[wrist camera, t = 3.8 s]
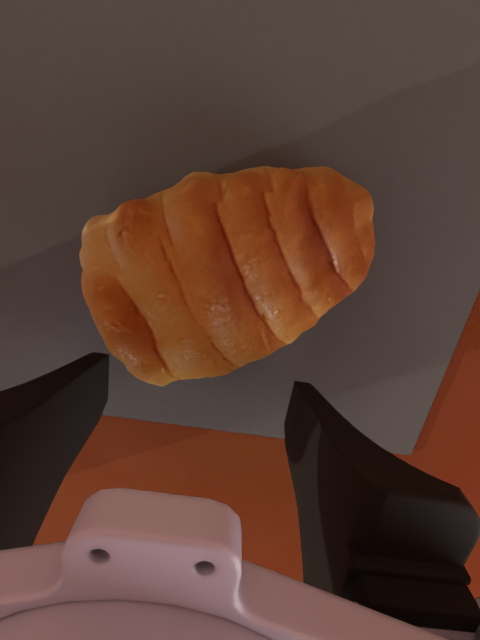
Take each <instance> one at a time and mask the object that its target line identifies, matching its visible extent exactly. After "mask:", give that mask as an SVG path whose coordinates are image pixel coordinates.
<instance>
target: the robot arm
mask: <svg viewBox="0 0 480 640" xmlns="http://www.w3.org/2000/svg"><path fill="white" fill-rule="evenodd" d="M109 356H110V354H104V353H97V352H92V353H90V354H87V355H85V356H83V357H81V358H79V359H77V360H75V361H73V362H71V363H69V364H66V365H64V366H62V367H60V368H58V369H56V370H54V371H52V372H49V373H47V374H45V375H42V376H40V377H38V378H35V379H33V380H31V381H28V382H26V383H23V384H20V385H17V386H15V387H12V388H8V389H5V390H2V391H0V640H480V596H479V597H477V598H476V599H474V597H473V596H472V594H471V592H470V590H469V588H468V586H467V585H469V584H470V582H471V578H470V576H469V574H468V572H467V571H466V569H465V567H464V564H465V562H466V560H467V558H468V557H469V555H470V553H471V551H472V550H473V548H474V546H475V544H476V542H477V540H478V537H479V535H480V519H479V516H478V514H477V512H476V511H475V510H474V508H473V507H472V505H471V504H470V502H469V501H468V500H467V498H466V497H465V495H464V494H463V492H462V491H461V490H460V488H458V487H456V486H454V485H451V484H449V483H447V482H445V481H442V480H440V479H438V478H436V477H433V476H431V475H429V474H427V473H425V472H423V471H421V470H419V469H417V468H415V467H413V466H411V465H410V464H408V463H406V462H404V461H403V460H401V459H399V458H397V457H396V456H394V455H393V454H391V453H389V452H388V451H386V450H385V449H383V448H382V447H380V446H379V445H377V444H376V443H375V442H373V441H372V440H371V439H369V438H368V437H367V436H365V435H364V434H363V433H361V432H360V431H359V430H358V429H357V428H355V427H354V426H353V425H352V424H351V423H350V422H349V421H347V420H346V419H345V418H344V417H343V416H342V415H341V414H340V413H339V412H338V411H337V410H336V409H335V408H334V407H333V406H332V405H331V404H330V403H329V402H328V401H327V400H326V399H325V398H324V397H323V396H322V395H321V394H320V392H319V391H318V390H317V389H316V388H315V387H314V386H313V385H312V384H311V383H307V382H300V381H294V385H293V389H292V394H291V398H290V402H289V406H288V410H287V414H286V418H285V422H284V433H285V446H286V452H287V457H288V462H289V467H290V471H291V476H292V481H293V486H294V491H295V495H296V501H297V507H298V516H299V527H300V537H301V550H302V563H303V579H304V583H303V582H301V581H298V580H295V579H293V578H290V577H288V576H285V575H283V574H280V573H277V572H275V571H272V570H270V569H267V568H265V567H262V566H259V565H257V564H254V563H252V562H249V561H247V560H244V559H242V531H241V524H240V517H239V516H238V515H237V514H236V513H235V512H234V511H233V510H232V509H231V508H230V507H229V506H228V505H226V504H223V503H220V502H218V501H215V500H212V499H208V498H200V497H192V496H184V495H176V494H168V493H160V492H152V491H144V490H135V489H127V488H115V489H103V490H100V491H98V492H97V493H95V494H93V495H92V496H90V497H88V498H87V499H86V501H85V503H84V505H83V507H82V509H81V511H80V513H79V515H78V517H77V519H76V521H75V523H74V526H73V528H72V530H71V532H70V534H69V536H68V538H67V540H66V541H64V542H56V543H49V544H42V545H34V546H32V545H33V543H34V541H35V538H36V536H37V534H38V531H39V529H40V527H41V525H42V523H43V521H44V518H45V516H46V514H47V512H48V510H49V507H50V505H51V503H52V501H53V499H54V497H55V495H56V493H57V491H58V489H59V487H60V485H61V483H62V481H63V479H64V477H65V475H66V473H67V472H68V470H69V468H70V467H71V465H72V463H73V462H74V460H75V459H76V457H77V455H78V454H79V452H80V451H81V449H82V447H83V446H84V444H85V443H86V441H87V439H88V438H89V436H90V435H91V433H92V431H93V430H94V428H95V426H96V425H97V423H98V421H99V419H100V417H101V415H102V413H103V410H104V408H105V406H106V403H107V401H108V387H109Z"/></svg>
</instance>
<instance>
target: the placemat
mask: <svg viewBox="0 0 480 640" xmlns="http://www.w3.org/2000/svg"><path fill="white" fill-rule="evenodd" d="M261 166H270V167H275V168H280V167H283V168H288V169H300V168H304V167H320V166H325V167H330V168H332V169H334V170H336V171H337V172H339V173H340V174H342V175H343V176H345V177H347V178H349V179H351V180H352V181H353V182H355V183H357V184H359V185H361V186H362V187H364V188H365V189H366V190H368V191H369V193H370V194H371V197H372V200H373V204H374V212H373V224H374V235H375V247H374V257H373V259H372V262H371V264H370V267H369V270H368V273H367V276H366V278H365V280H364V281H363V282H362V283H361V284H360V285H359V286H358V288H357V289H356V290H355V291H354V292H353V293H352V294H350V295H348V296H347V297H345V298H344V299H343V300H342V301H340V302H339V303H338V304H336V305H335V306H333V307H332V308H330V309H329V310H328V311H327V312H326V313H325V314H324V315H322V316H321V317H320V318H319V320H318V322H317V323H316V325H314V326H313V327H311V328H310V329H308V330H306V331H304V332H302V333H301V334H300V335H299V336H298V337H297V339H296V340H295V341H293V342H292V343H291V344H288V345H285V346H283V347H281V348H279V349H278V350H276V351H274V352H273V353H272V354H271V355H269V356H266V357H264V358H262V359H260V360H257V361H253V362H250V363H247V364H246V365H244V366H242V367H240V368H238V369H236V370H234V371H233V372H231V373H229V374H227V375H223V376H216V377H205V378H200V379H185V380H177V381H173V382H171V383H169V384H167V385H165V386H163V387H162V386H158V385H154V384H150V383H146V382H144V381H142V380H140V379H138V378H136V377H135V376H134V375H133V374H131V373H130V372H129V371H128V370H127V369H126V366H125V364H124V363H122V362H121V361H120V360H119V359H117V358H116V357H114V356H113V355H112V354H111V353H110V352H109V350H108V348H107V347H106V345H105V343H104V340H103V338H102V336H101V335H100V333H99V331H98V329H97V327H96V325H95V322H94V320H93V318H92V316H91V313H90V310H89V307H88V305H87V304H86V301H85V299H84V297H83V292H82V286H81V275H82V271H83V269H82V266H81V264H80V257H79V252H80V249H81V247H82V240H81V236H82V231H83V229H84V226H85V225H86V223H87V222H88V220H90V219H91V218H92V217H94V216H97V215H107V214H110V213H112V212H114V211H115V210H116V209H117V208H118V207H119V206H120V205H122V204H123V203H125V202H127V201H130V200H133V199H145V198H147V197H149V196H151V195H153V194H155V193H157V192H160V191H163V190H165V189H168V188H171V187H173V186H175V185H176V184H177V183H179V182H180V181H181V180H182V179H183V178H184V177H185V176H187V175H189V174H190V173H193V172H209V173H212V174H227V173H234V172H237V171H240V170H244V169H249V168H255V167H261ZM479 290H480V0H0V391H2V390H5V389H8V388H12V387H15V386H17V385H20V384H23V383H26V382H28V381H31V380H33V379H35V378H38V377H40V376H42V375H45V374H47V373H49V372H52V371H54V370H56V369H58V368H60V367H62V366H64V365H66V364H69V363H71V362H73V361H75V360H77V359H79V358H81V357H83V356H85V355H87V354H90V353H92V352H97V353H104V354H110V356H109V387H108V401H107V403H106V406H105V408H104V410H103V413H102V415H107V416H115V417H122V418H130V419H138V420H145V421H153V422H161V423H168V424H176V425H183V426H191V427H199V428H206V429H214V430H222V431H229V432H237V433H244V434H252V435H260V436H267V437H275V438H283V439H285V433H284V422H285V418H286V414H287V410H288V406H289V402H290V398H291V394H292V389H293V385H294V381H300V382H307V383H311V384H312V385H313V386H314V387H315V388H316V389H317V390H318V391H319V392H320V394H321V395H322V396H323V397H324V398H325V399H326V400H327V401H328V402H329V403H330V404H331V405H332V406H333V407H334V408H335V409H336V410H337V411H338V412H339V413H340V414H341V415H342V416H343V417H344V418H345V419H346V420H347V421H349V422H350V423H351V424H352V425H353V426H354V427H355V428H357V429H358V430H359V431H360V432H361V433H363V434H364V435H365V436H367V437H368V438H369V439H371V440H372V441H373V442H375V443H376V444H377V445H379V446H380V447H382V448H383V449H385V450H386V451H388V452H390V453H397V454H405V455H411V453H412V451H413V449H414V446H415V444H416V441H417V439H418V437H419V434H420V432H421V429H422V427H423V425H424V422H425V420H426V417H427V415H428V413H429V410H430V408H431V405H432V403H433V401H434V398H435V396H436V393H437V391H438V389H439V386H440V384H441V381H442V379H443V376H444V374H445V372H446V369H447V367H448V364H449V362H450V360H451V357H452V355H453V352H454V350H455V348H456V345H457V343H458V340H459V338H460V336H461V333H462V331H463V328H464V326H465V324H466V321H467V319H468V316H469V314H470V312H471V309H472V307H473V304H474V302H475V300H476V297H477V295H478V292H479Z"/></svg>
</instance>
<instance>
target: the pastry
mask: <svg viewBox="0 0 480 640" xmlns="http://www.w3.org/2000/svg"><path fill="white" fill-rule="evenodd" d="M373 212H374V204H373V200H372V197H371V194H370V193H369V191H368V190H366V189H365V188H364V187H362V186H361V185H359V184H357V183H355V182H353V181H352V180H351V179H349V178H347V177H345V176H343V175H342V174H340V173H339V172H337V171H336V170H334V169H332V168H330V167H325V166H320V167H304V168H300V169H288V168H283V167H280V168H275V167H270V166H261V167H255V168H249V169H244V170H240V171H237V172H234V173H227V174H212V173H209V172H193V173H190V174H189V175H187V176H185V177H184V178H183V179H182V180H181V181H180V182H179V183H177V184H176V185H175V186H173V187H171V188H168V189H165V190H163V191H160V192H157V193H155V194H153V195H151V196H149V197H147V198H145V199H133V200H130V201H127V202H125V203H123V204H122V205H120V206H119V207H118V208H117V209H116V210H115V211H114V212H112V213H110V214H107V215H97V216H94V217H92V218H91V219H90V220H88V222H87V223H86V225H85V226H84V229H83V231H82V236H81V240H82V247H81V249H80V252H79V257H80V264H81V266H82V269H83V271H82V275H81V286H82V292H83V297H84V299H85V301H86V304H87V305H88V307H89V310H90V313H91V316H92V318H93V320H94V322H95V325H96V327H97V329H98V331H99V333H100V335H101V336H102V338H103V340H104V343H105V345H106V347H107V348H108V350H109V352H110V353H111V354H112V355H113V356H114V357H116V358H117V359H119V360H120V361H121V362H122V363H124V364H125V366H126V369H127V370H128V371H129V372H130V373H131V374H133V375H134V376H135V377H136V378H138V379H140V380H142V381H144V382H146V383H150V384H154V385H158V386H162V387H163V386H165V385H167V384H169V383H171V382H173V381H177V380H185V379H200V378H205V377H216V376H223V375H227V374H229V373H231V372H233V371H234V370H236V369H238V368H240V367H242V366H244V365H246V364H247V363H250V362H253V361H257V360H260V359H262V358H264V357H266V356H269V355H271V354H272V353H273V352H274V351H276V350H278V349H279V348H281V347H283V346H285V345H288V344H291V343H292V342H293V341H295V340H296V339H297V337H298V336H299V335H300V334H301V333H302V332H304V331H306V330H308V329H310V328H311V327H313V326H314V325H316V323H317V322H318V320H319V318H320V317H321V316H322V315H324V314H325V313H326V312H327V311H328V310H329V309H330V308H332V307H333V306H335V305H336V304H338V303H339V302H340V301H342V300H343V299H344V298H345V297H347V296H348V295H350V294H352V293H353V292H354V291H355V290H356V289H357V288H358V286H359V285H360V284H361V283H362V282H363V281H364V280H365V278H366V276H367V273H368V270H369V267H370V264H371V262H372V259H373V257H374V247H375V235H374V224H373Z"/></svg>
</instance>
